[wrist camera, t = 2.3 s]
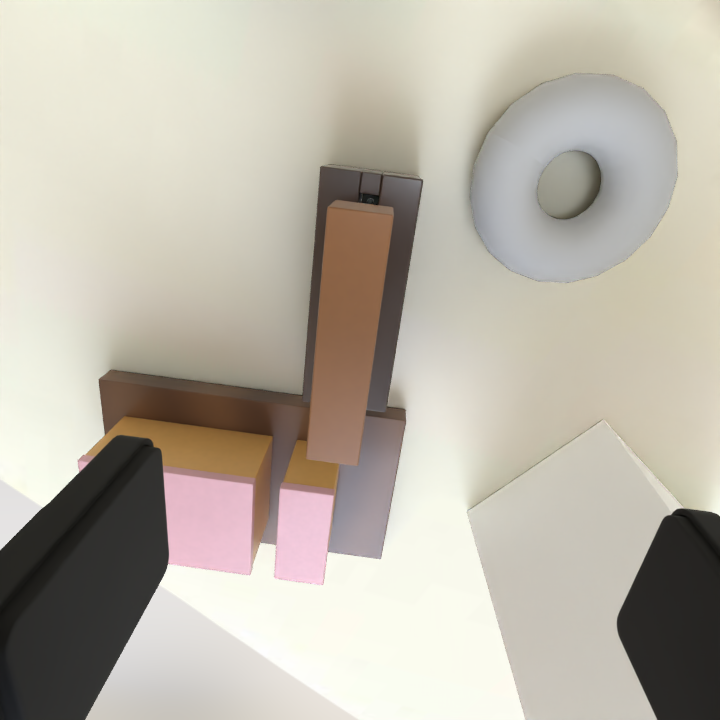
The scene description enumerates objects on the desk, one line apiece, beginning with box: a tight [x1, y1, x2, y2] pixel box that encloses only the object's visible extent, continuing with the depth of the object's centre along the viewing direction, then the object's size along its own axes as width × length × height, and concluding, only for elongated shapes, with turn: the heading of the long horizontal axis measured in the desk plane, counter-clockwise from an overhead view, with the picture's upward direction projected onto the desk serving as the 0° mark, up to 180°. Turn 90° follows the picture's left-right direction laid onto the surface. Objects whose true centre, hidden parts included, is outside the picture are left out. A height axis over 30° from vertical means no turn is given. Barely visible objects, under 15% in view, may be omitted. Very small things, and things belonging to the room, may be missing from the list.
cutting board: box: [99, 370, 406, 559], centre depth 34 cm, size 20×12×2 cm, turn 83°
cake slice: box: [274, 440, 339, 585], centre depth 31 cm, size 3×7×5 cm, turn 173°
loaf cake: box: [78, 416, 273, 575], centre depth 31 cm, size 10×7×5 cm
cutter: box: [306, 198, 394, 466], centre depth 24 cm, size 2×11×10 cm, turn 173°
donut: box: [470, 73, 678, 283], centre depth 24 cm, size 10×3×10 cm
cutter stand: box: [302, 164, 423, 412], centre depth 27 cm, size 5×13×4 cm, turn 173°
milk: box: [467, 419, 685, 720], centre depth 23 cm, size 12×12×26 cm
